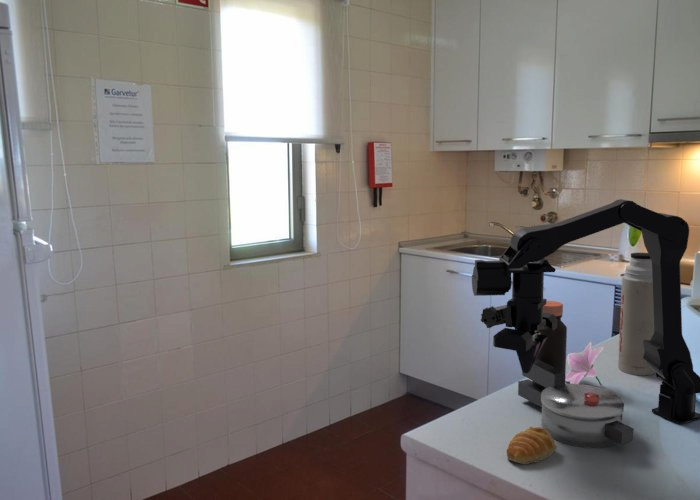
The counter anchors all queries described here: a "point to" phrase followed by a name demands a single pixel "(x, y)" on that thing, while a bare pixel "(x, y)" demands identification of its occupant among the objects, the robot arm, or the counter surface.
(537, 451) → the pastry
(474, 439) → the counter surface
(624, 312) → the thermos bottle
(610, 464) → the counter surface
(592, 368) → the lily
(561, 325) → the vinegar
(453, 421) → the counter surface
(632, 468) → the counter surface
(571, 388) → the lid
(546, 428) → the pot
